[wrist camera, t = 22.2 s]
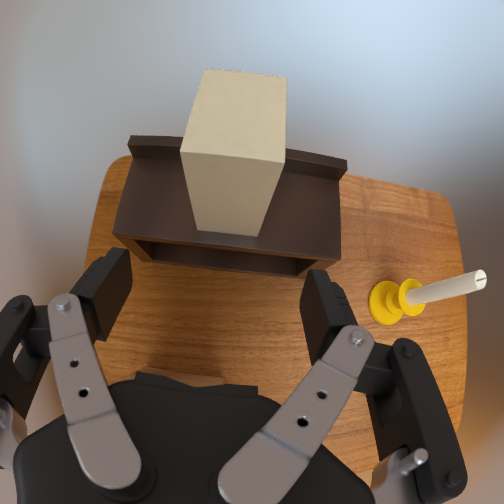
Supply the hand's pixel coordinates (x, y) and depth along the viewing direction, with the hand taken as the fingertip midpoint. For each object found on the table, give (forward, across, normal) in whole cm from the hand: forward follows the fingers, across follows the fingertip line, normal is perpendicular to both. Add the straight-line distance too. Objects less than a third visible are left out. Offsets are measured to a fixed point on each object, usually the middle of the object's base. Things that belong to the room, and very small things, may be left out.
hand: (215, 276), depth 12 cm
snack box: (+11, 0, 0) cm, 11 cm away
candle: (+13, -19, +11) cm, 26 cm away
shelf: (+17, 0, +6) cm, 18 cm away
